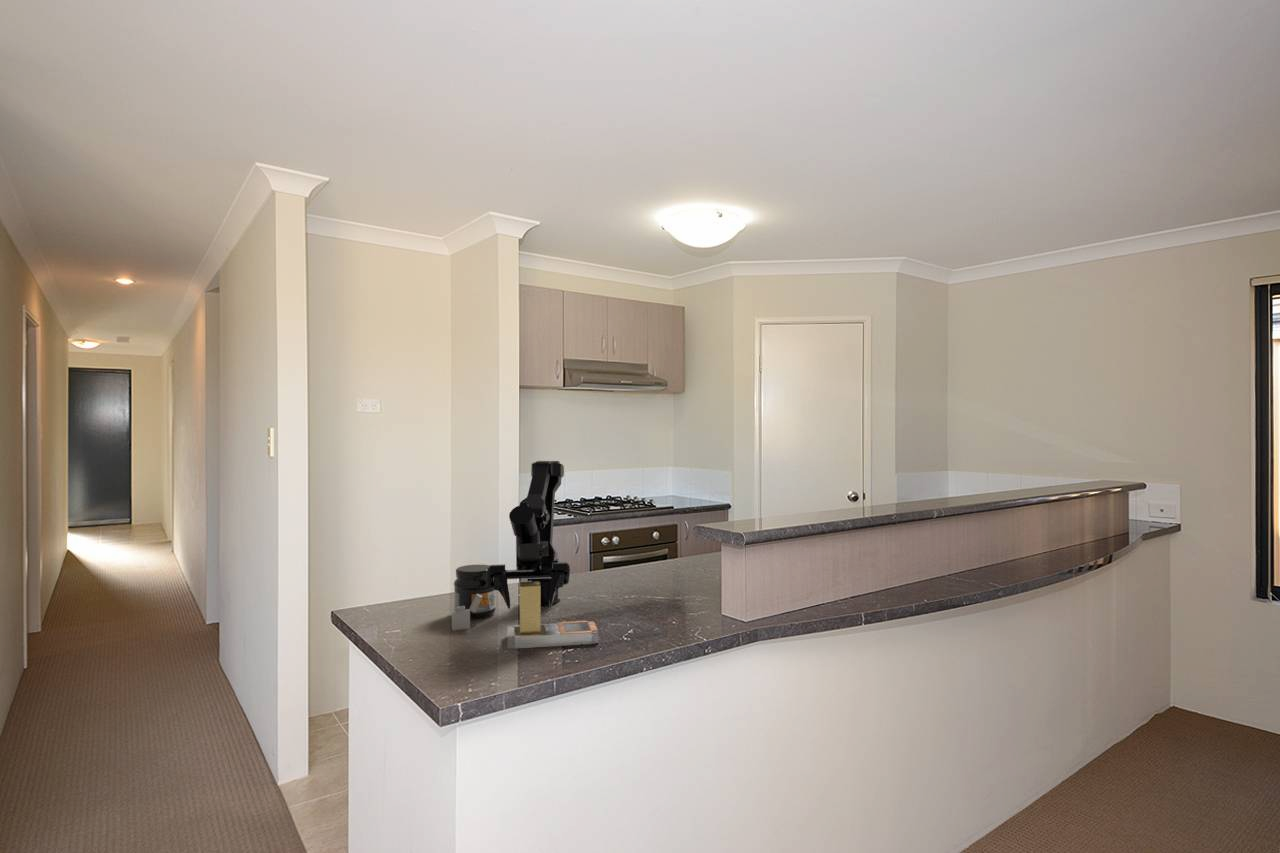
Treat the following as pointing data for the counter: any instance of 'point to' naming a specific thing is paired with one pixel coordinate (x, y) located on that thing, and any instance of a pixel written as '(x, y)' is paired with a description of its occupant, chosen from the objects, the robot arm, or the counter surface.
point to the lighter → (464, 614)
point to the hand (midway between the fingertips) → (529, 606)
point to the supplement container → (474, 590)
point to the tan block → (530, 608)
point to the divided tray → (554, 635)
